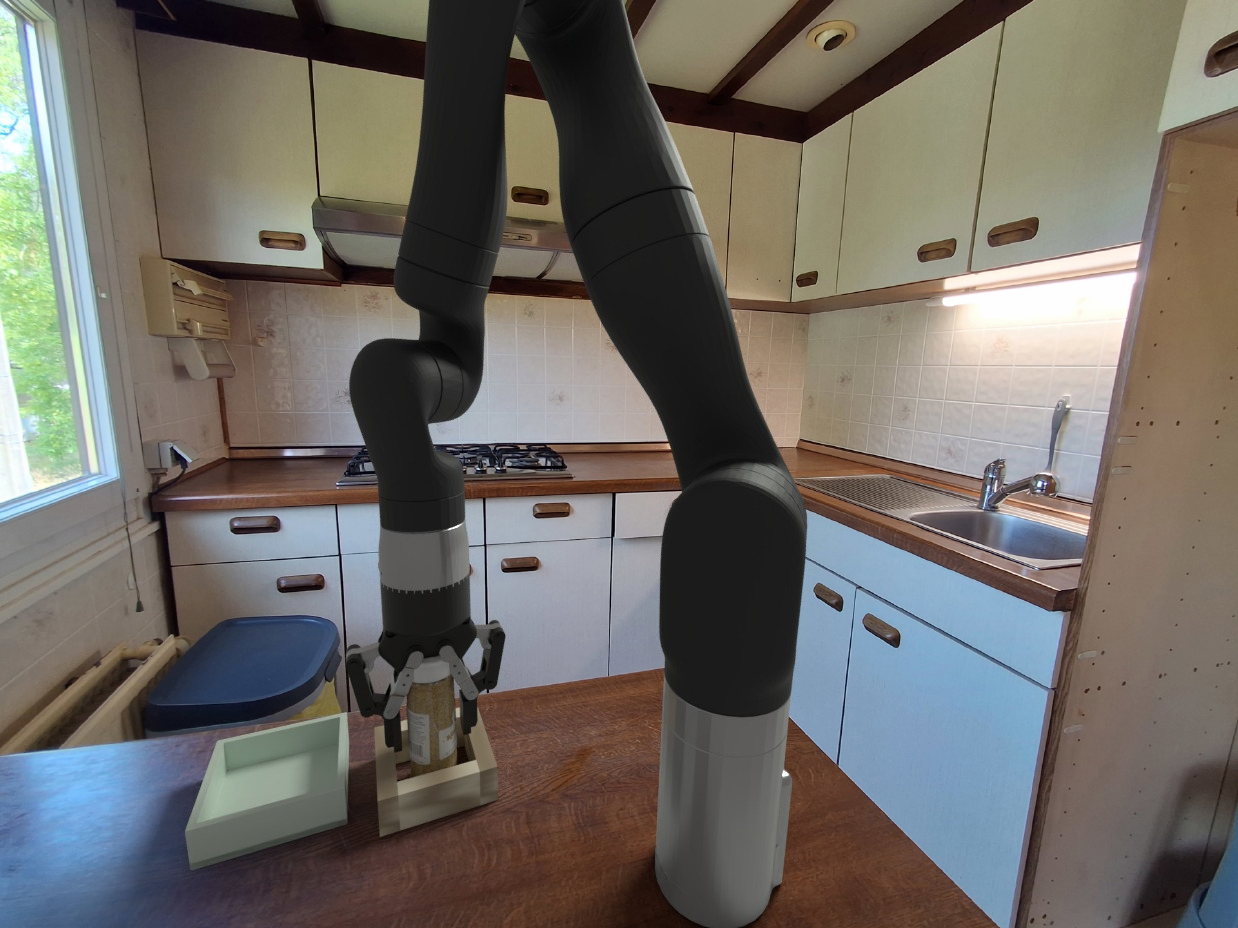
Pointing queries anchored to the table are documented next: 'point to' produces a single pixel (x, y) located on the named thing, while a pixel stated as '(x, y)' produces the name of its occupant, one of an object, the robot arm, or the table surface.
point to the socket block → (433, 781)
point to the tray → (270, 790)
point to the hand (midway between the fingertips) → (432, 736)
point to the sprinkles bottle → (431, 718)
